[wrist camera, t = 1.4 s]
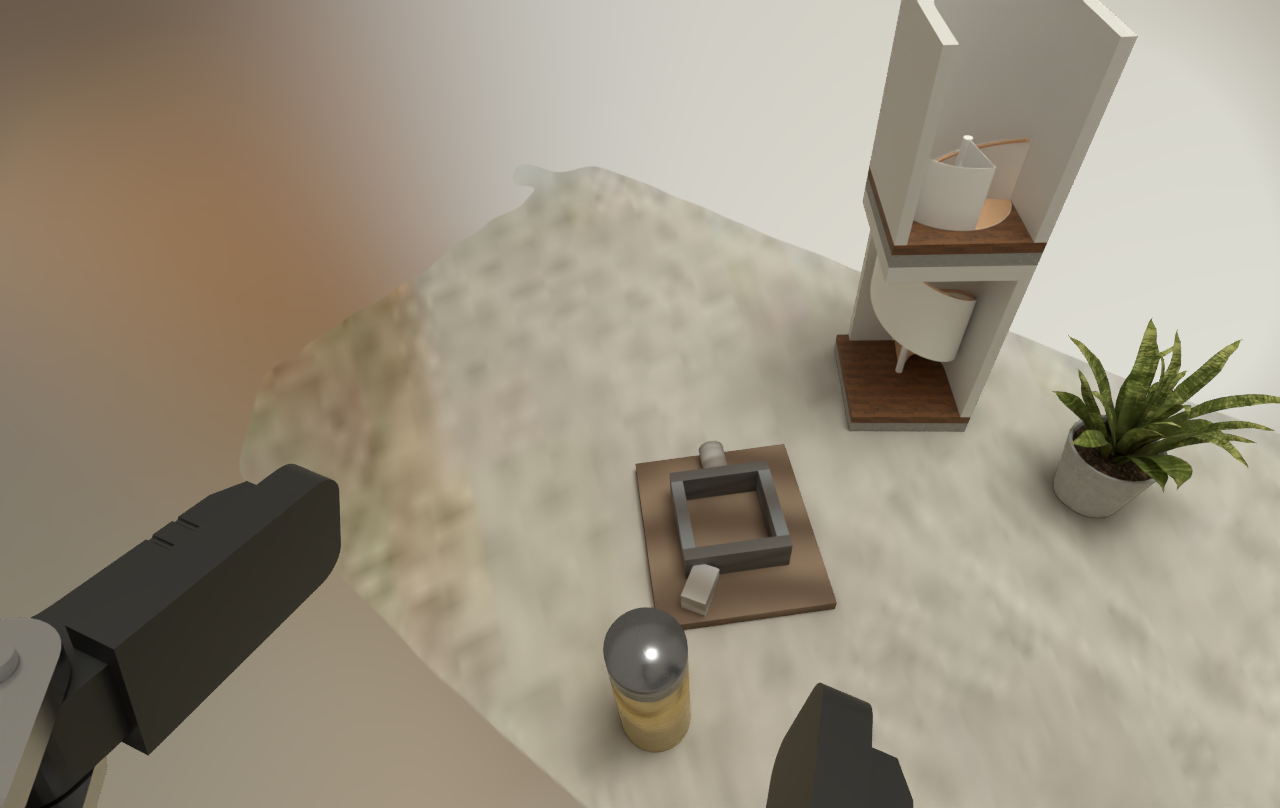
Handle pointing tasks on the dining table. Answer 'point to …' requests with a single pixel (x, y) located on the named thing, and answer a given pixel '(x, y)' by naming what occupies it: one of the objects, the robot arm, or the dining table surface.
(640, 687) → the capped cylinder
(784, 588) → the socket base
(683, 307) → the dining table surface
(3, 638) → the robot arm
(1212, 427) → the house plant
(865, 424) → the white tall stand
